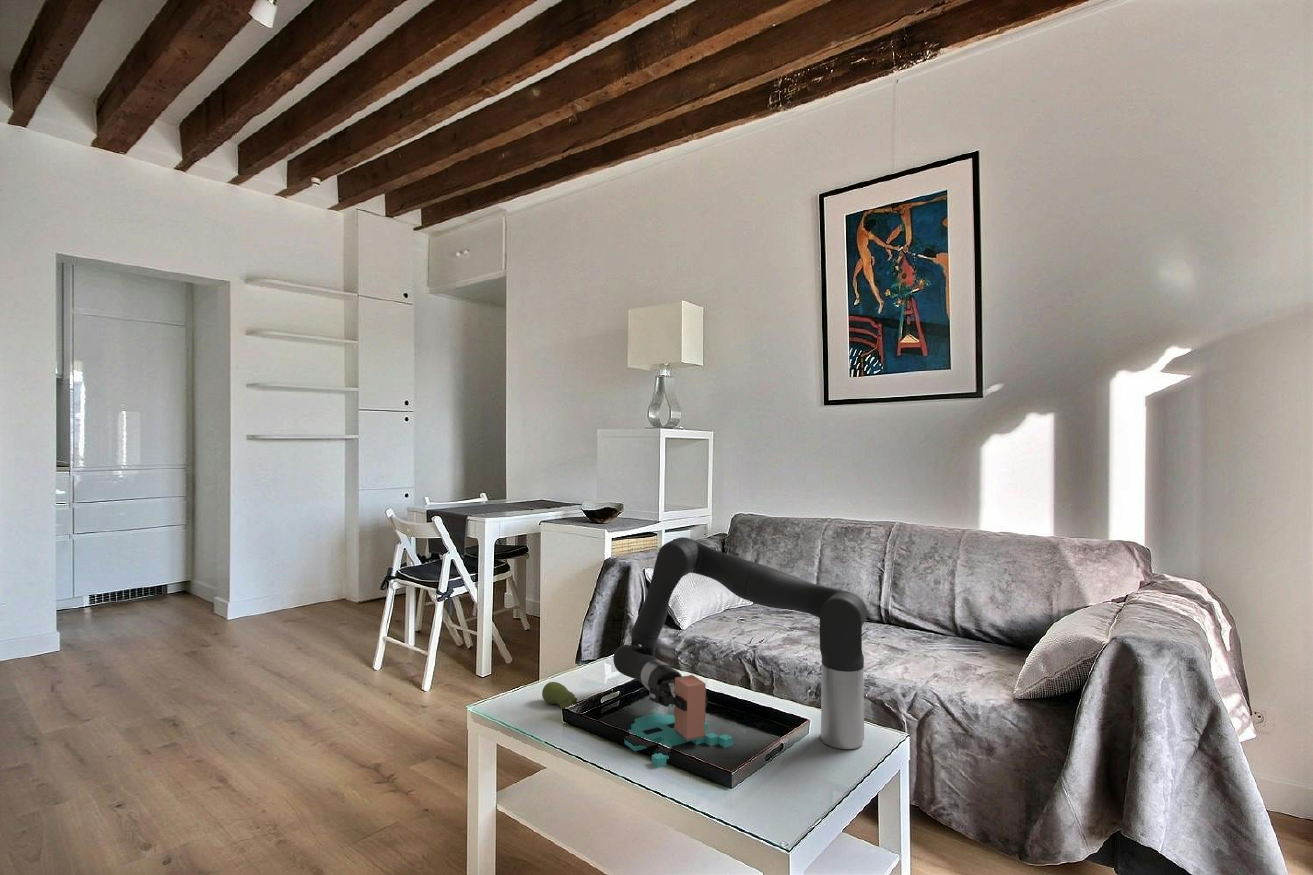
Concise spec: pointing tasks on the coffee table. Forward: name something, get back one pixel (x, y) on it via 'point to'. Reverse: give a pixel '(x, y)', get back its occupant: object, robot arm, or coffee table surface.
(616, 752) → the coffee table surface
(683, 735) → the block
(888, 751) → the coffee table surface
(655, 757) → the alien figure
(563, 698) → the pear
